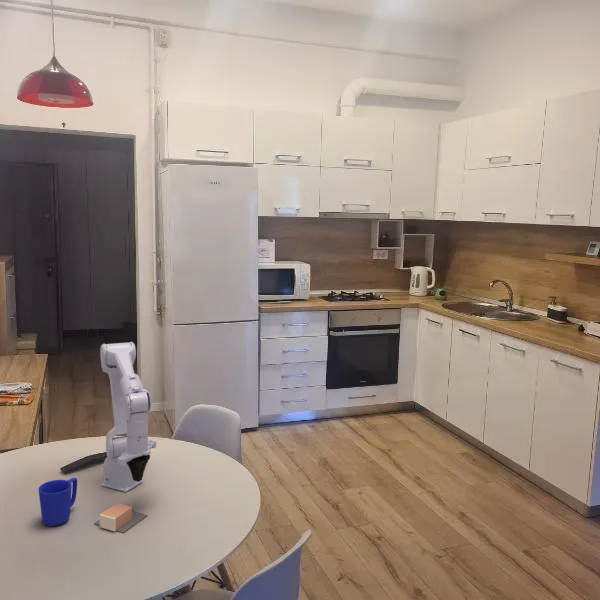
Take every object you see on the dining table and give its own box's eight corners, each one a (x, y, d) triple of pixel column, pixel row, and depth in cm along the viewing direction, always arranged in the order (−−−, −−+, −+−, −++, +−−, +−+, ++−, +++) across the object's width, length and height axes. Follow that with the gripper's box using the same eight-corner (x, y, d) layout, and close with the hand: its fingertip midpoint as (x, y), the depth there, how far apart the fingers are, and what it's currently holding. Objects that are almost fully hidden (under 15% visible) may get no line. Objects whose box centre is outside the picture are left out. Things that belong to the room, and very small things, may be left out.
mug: (88, 510, 164) (87, 476, 163) (57, 531, 153) (56, 496, 151) (64, 504, 167) (63, 471, 165) (32, 525, 156) (31, 490, 154)
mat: (93, 524, 157) (93, 523, 157) (118, 507, 166) (118, 506, 166) (123, 533, 153) (123, 532, 153) (147, 515, 162) (147, 514, 162)
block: (117, 515, 162) (99, 527, 155) (117, 503, 161) (99, 514, 155) (132, 519, 160) (114, 531, 153) (131, 507, 159) (114, 519, 153)
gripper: (132, 446, 155) (132, 494, 157) (164, 428, 168) (164, 472, 170) (110, 441, 157) (111, 488, 160) (144, 424, 171) (144, 468, 173)
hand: (137, 480), depth 165 cm, fingers closed
